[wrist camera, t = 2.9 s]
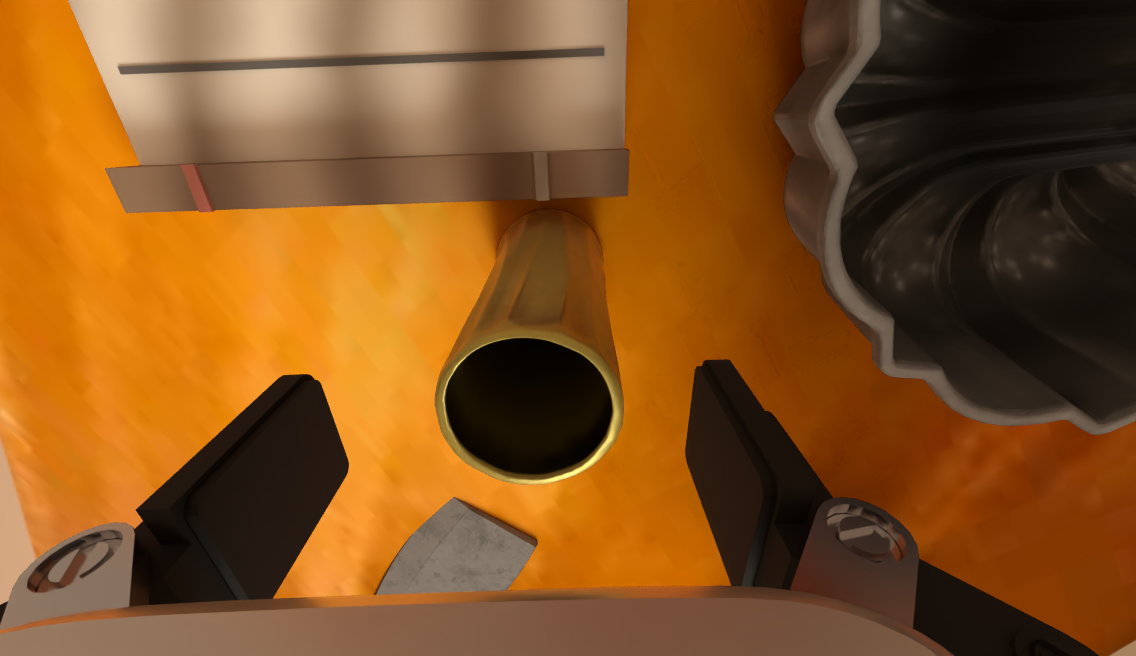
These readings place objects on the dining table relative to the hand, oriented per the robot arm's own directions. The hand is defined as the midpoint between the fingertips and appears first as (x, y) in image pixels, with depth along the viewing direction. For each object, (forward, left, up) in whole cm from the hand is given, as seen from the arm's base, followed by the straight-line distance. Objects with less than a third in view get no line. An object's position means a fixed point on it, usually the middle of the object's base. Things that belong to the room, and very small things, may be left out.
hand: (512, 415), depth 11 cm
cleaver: (+13, +33, -16) cm, 39 cm away
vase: (0, 0, -15) cm, 15 cm away
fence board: (+8, -9, -15) cm, 19 cm away
